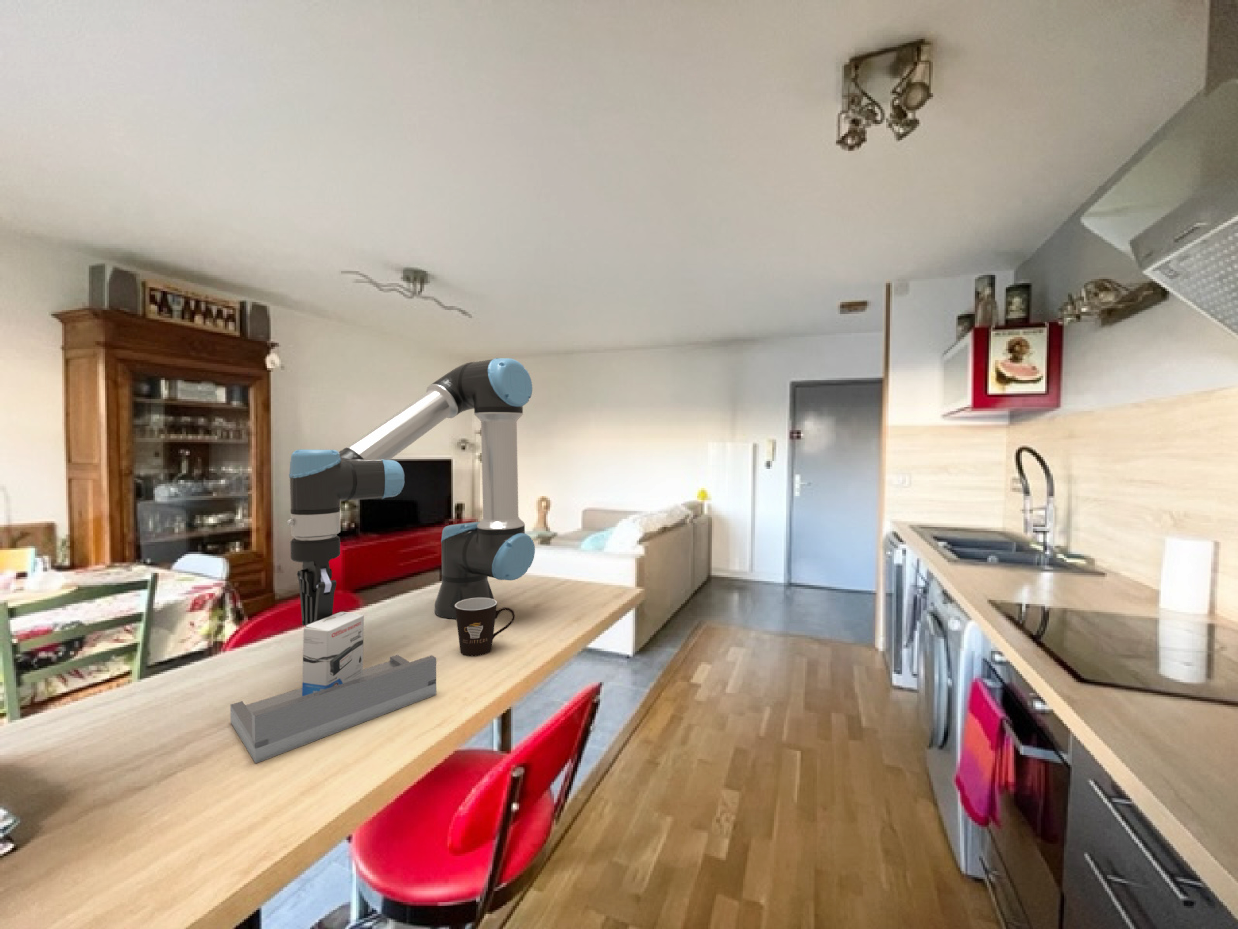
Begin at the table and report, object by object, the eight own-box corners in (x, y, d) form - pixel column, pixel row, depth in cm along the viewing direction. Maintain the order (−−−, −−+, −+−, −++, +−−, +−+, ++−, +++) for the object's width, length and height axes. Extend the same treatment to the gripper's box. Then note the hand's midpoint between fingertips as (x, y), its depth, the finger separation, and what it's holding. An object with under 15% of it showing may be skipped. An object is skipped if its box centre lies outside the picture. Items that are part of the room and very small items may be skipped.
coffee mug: (446, 656, 103) (446, 608, 103) (468, 640, 111) (468, 596, 111) (498, 662, 100) (498, 613, 100) (516, 646, 109) (516, 600, 108)
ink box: (326, 703, 80) (327, 630, 79) (300, 699, 81) (301, 627, 80) (364, 679, 88) (365, 613, 88) (340, 675, 89) (341, 610, 89)
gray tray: (397, 668, 97) (397, 635, 97) (436, 694, 87) (436, 657, 87) (230, 722, 78) (230, 681, 77) (255, 763, 67) (254, 716, 67)
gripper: (280, 534, 90) (281, 663, 91) (303, 544, 81) (304, 687, 82) (326, 529, 95) (327, 651, 96) (352, 538, 87) (353, 672, 87)
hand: (316, 668), depth 89 cm, fingers closed
